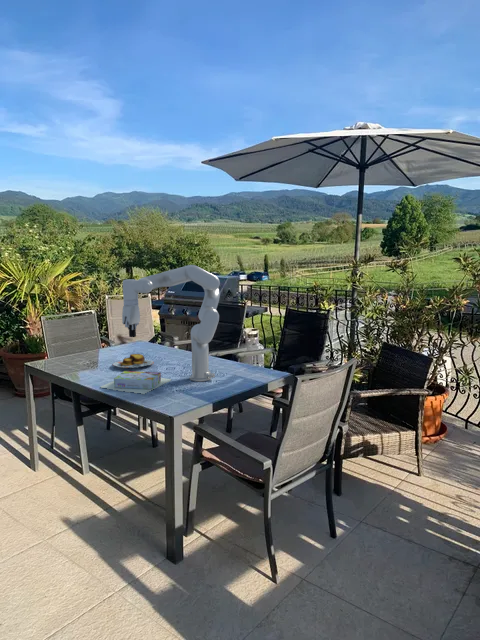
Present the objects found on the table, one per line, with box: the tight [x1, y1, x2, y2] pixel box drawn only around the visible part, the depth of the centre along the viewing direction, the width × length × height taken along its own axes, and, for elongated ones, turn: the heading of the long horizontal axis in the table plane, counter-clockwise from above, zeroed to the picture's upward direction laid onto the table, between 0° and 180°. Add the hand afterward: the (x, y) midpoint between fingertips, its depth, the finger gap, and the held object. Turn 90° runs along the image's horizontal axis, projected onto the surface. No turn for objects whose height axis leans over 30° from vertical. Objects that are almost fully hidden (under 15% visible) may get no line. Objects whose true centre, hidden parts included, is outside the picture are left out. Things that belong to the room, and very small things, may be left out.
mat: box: [100, 377, 172, 395], centre depth 234 cm, size 28×27×1 cm
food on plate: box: [111, 353, 155, 369], centre depth 271 cm, size 25×25×7 cm
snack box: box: [113, 370, 162, 389], centre depth 231 cm, size 21×6×15 cm
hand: (132, 336), depth 228 cm, fingers closed
